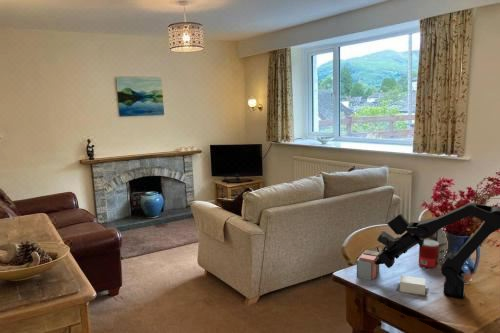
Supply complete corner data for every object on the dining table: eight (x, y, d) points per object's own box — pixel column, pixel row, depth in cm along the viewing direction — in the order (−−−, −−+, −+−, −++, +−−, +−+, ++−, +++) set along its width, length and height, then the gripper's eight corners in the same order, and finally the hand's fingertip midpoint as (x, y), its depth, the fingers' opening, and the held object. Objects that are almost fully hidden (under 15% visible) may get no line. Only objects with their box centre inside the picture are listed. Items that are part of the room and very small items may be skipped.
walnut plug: (379, 271, 176) (379, 252, 175) (376, 275, 173) (377, 255, 171) (365, 269, 179) (365, 249, 178) (362, 272, 176) (363, 253, 174)
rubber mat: (429, 290, 159) (429, 288, 159) (425, 299, 152) (425, 297, 152) (399, 283, 165) (399, 282, 165) (395, 292, 158) (395, 290, 158)
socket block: (377, 270, 177) (378, 253, 176) (370, 280, 168) (371, 262, 167) (364, 268, 180) (364, 251, 179) (356, 277, 171) (356, 260, 170)
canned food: (439, 269, 177) (441, 245, 175) (420, 268, 178) (421, 245, 176) (435, 262, 184) (436, 239, 182) (417, 261, 186) (418, 238, 184)
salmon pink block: (376, 276, 172) (376, 256, 170) (373, 280, 168) (373, 260, 167) (362, 273, 175) (362, 254, 173) (359, 277, 172) (359, 257, 170)
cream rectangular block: (424, 288, 160) (425, 278, 159) (424, 295, 154) (425, 285, 153) (400, 284, 163) (400, 275, 162) (399, 291, 157) (400, 281, 157)
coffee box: (448, 257, 189) (449, 224, 186) (436, 259, 187) (438, 226, 184) (434, 250, 197) (436, 219, 194) (423, 252, 196) (424, 220, 193)
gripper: (395, 220, 171) (368, 241, 178) (384, 234, 155) (355, 255, 163) (414, 241, 168) (386, 261, 176) (405, 257, 152) (374, 278, 160)
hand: (375, 263), depth 169 cm, fingers closed, pressing on salmon pink block
